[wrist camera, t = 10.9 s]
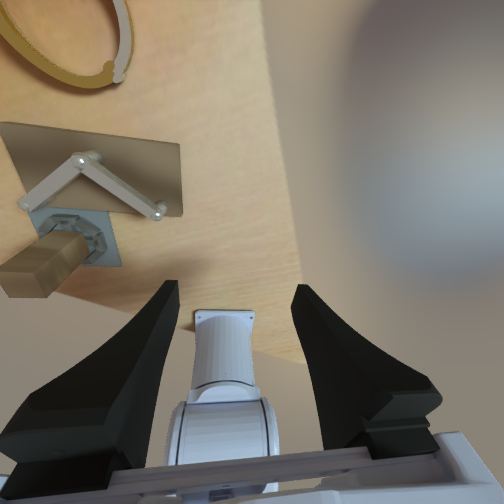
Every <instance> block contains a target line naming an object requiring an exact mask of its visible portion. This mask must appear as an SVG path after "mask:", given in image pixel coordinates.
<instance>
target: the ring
mask: <svg viewBox="0 0 504 504" xmlns="http://www.w3.org/2000/svg"><path fill="white" fill-rule="evenodd" d="M113 3H114V6H115V9H116V12H117V16H118V21H119V28H120V45H119V51H118V54H117V57H116V59H115V61H107V62H106V63H105V64H104V66H103V70H104V72H102V73H100V74H98V75H94V76H81V75H78V74H75V73H72V72H69V71H67V70H65V69H63V68H61V67H60V66H58V65H56V64H55V63H53V62H52V61H51V60H49V59H48V58H47V57H46V56H44V55H43V54H42V53H41V52H40V51H39V50H38V49H37V48H36V47H35V46H34V45H33V44H32V43H31V42H30V41H29V39H28V38H27V37H26V36H25V35H24V33H23V32H22V31H21V29H20V28H19V26H18V25H17V23H16V22H15V20H14V19H13V17H12V16H11V14H10V12H9V11H8V9H7V7H6V5H5V3H4V1H3V0H0V34H1V35H2V36H3V37H4V38H5V39H6V41H7V42H8V43H9V44H10V45H11V46H12V47H13V48H14V49H16V50H17V51H18V52H19V53H20V54H21V55H22V56H23V57H25V58H26V59H27V60H28V61H30V62H31V63H32V64H33V65H35V66H36V67H38V68H39V69H41V70H42V71H44V72H45V73H47V74H48V75H50V76H52V77H54V78H56V79H58V80H60V81H62V82H64V83H67V84H70V85H73V86H76V87H81V88H100V87H104V86H107V85H110V84H112V83H120V82H123V81H124V80H125V79H126V73H125V72H126V70H127V69H128V67H129V64H130V62H131V59H132V55H133V48H134V32H133V25H132V19H131V15H130V11H129V8H128V5H127V2H126V0H113Z"/></svg>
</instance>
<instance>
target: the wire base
mask: <svg viewBox="0 0 504 504" xmlns="http://www.w3.org/2000/svg"><path fill="white" fill-rule="evenodd" d="M0 134H1V136H2V138H3V141H4V143H5V145H6V147H7V150H8V152H9V154H10V156H11V158H12V161H13V163H14V165H15V167H16V169H17V172H18V174H19V176H20V178H21V181H22V183H23V185H24V187H25V189H26V192H27V193H28V192H29V191H31V190H32V189H33V188H34V187H35V186H37V185H38V184H39V183H40V182H41V181H43V180H44V179H45V178H46V177H48V176H49V175H50V174H51V173H52V172H54V171H55V170H56V169H57V168H58V167H60V166H61V165H62V164H63V163H64V162H66V161H67V160H68V159H69V158H70V157H71V155H72V154H73V153H75V152H86V151H89V150H93V149H96V150H99V151H100V152H101V153H102V154H103V155H104V162H103V163H101V165H102V166H104V167H105V168H106V169H108V170H109V171H110V172H112V173H113V174H115V175H116V176H117V177H119V178H120V179H121V180H123V181H124V182H126V183H127V184H128V185H130V186H131V187H132V188H134V189H135V190H137V191H138V192H139V193H141V194H142V195H143V196H145V197H146V198H148V199H149V200H150V201H152V202H153V203H154V204H156V203H157V202H158V201H159V200H165V201H167V202H168V204H169V208H168V210H167V211H166V213H165V214H164V216H176V217H181V216H182V214H183V204H182V184H181V163H180V144H177V143H169V142H162V141H154V140H146V139H138V138H131V137H123V136H115V135H108V134H100V133H92V132H84V131H77V130H69V129H61V128H54V127H46V126H38V125H30V124H23V123H15V122H0ZM55 197H56V198H55V200H54V201H52V202H50V203H48V204H46V205H44V206H48V207H61V208H73V209H86V210H99V211H112V212H125V213H138V214H142V213H140V212H139V211H137V210H136V209H134V208H133V207H132V206H130V205H129V204H127V203H126V202H124V201H123V200H121V199H120V198H118V197H117V196H115V195H114V194H112V193H111V192H110V191H108V190H107V189H105V188H104V187H102V186H101V185H99V184H98V183H96V182H95V181H93V180H92V179H90V178H89V177H88V176H86V175H85V174H83V173H82V174H81V175H79V176H78V177H77V178H76V179H74V180H73V181H72V182H70V183H69V184H68V185H67V186H65V187H64V188H63V189H62V190H60V191H59V192H58V193H57V194H55Z"/></svg>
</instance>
